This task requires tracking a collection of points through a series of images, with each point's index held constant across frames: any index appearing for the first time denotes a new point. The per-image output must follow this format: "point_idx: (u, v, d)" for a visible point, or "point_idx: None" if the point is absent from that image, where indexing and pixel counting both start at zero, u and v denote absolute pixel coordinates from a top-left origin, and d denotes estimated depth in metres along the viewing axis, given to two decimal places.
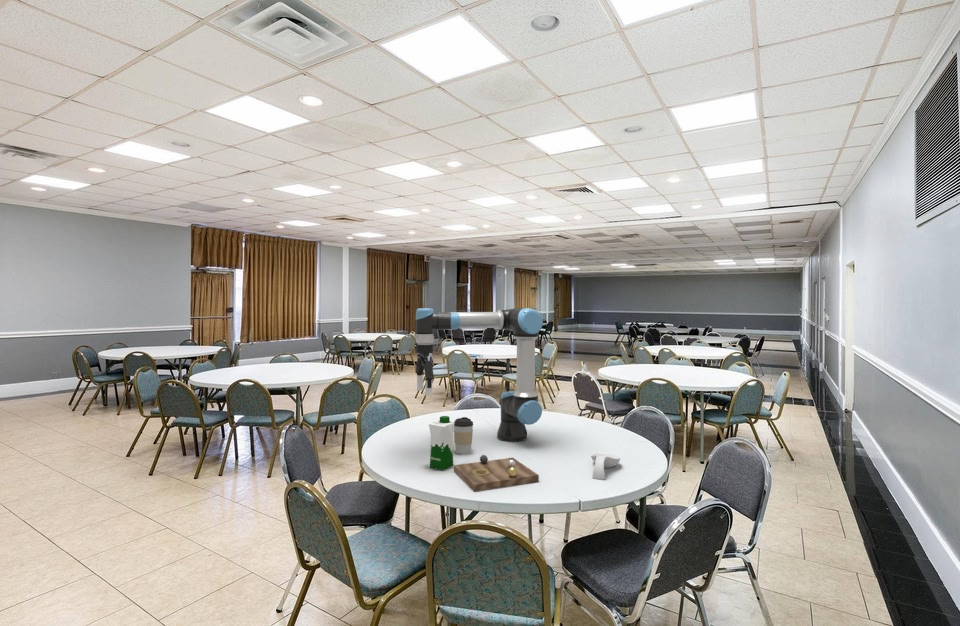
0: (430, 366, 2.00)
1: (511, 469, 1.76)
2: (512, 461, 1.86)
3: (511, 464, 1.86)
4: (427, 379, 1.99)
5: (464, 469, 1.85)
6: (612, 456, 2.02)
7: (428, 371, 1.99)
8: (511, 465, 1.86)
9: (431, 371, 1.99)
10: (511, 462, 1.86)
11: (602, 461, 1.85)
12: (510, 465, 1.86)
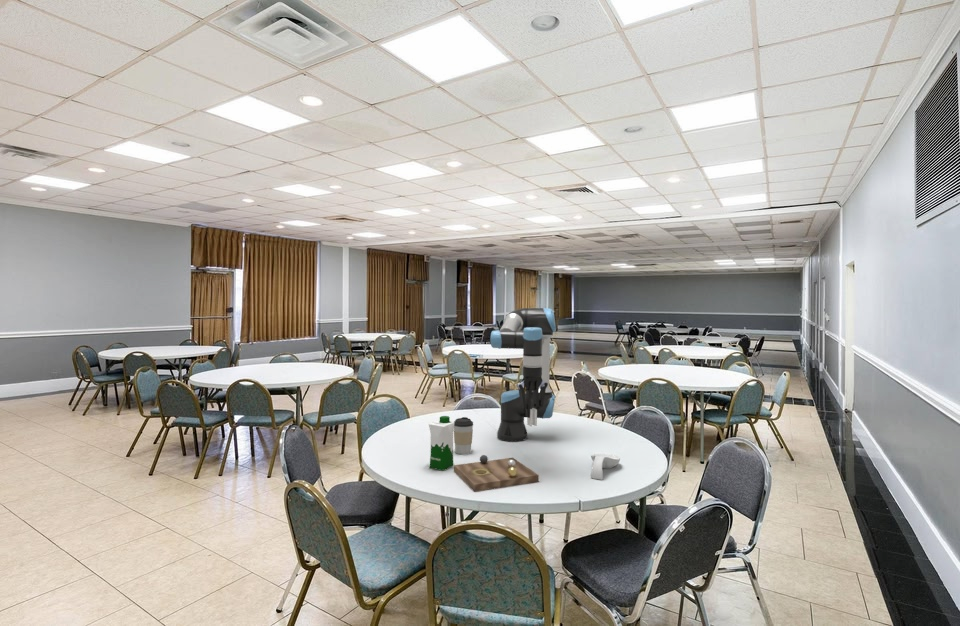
0: (521, 395, 1.88)
1: (511, 469, 1.76)
2: (512, 461, 1.86)
3: (511, 464, 1.86)
4: None
5: (464, 469, 1.85)
6: (612, 456, 2.01)
7: (520, 400, 1.89)
8: (511, 465, 1.86)
9: (522, 400, 1.88)
10: (511, 462, 1.86)
11: (600, 461, 1.84)
12: (510, 465, 1.86)
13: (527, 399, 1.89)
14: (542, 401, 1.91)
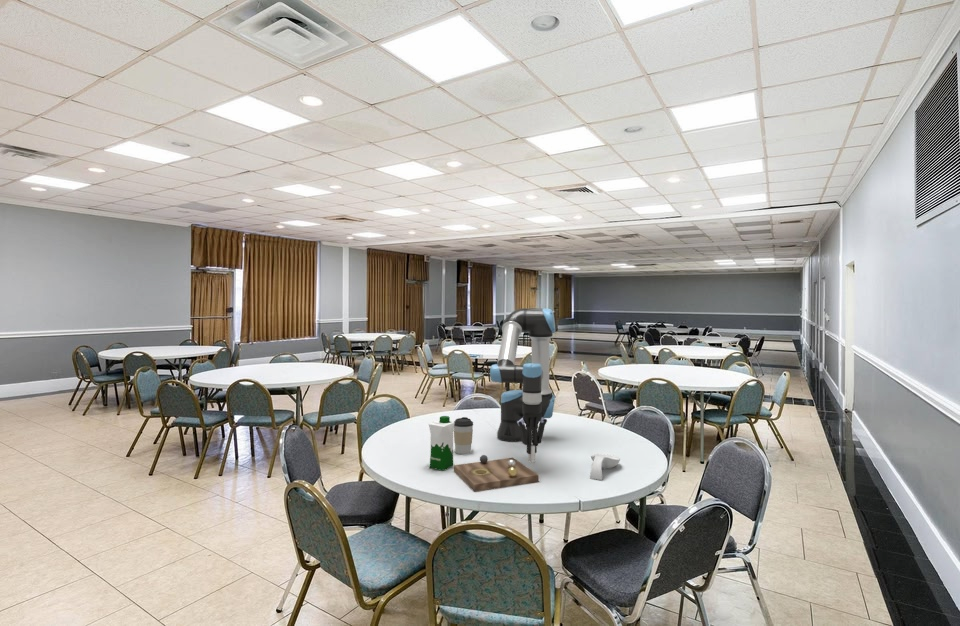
0: (521, 432, 1.88)
1: (511, 469, 1.76)
2: (512, 461, 1.86)
3: (511, 464, 1.86)
4: None
5: (464, 469, 1.85)
6: (612, 457, 2.01)
7: (521, 436, 1.90)
8: (511, 465, 1.86)
9: (522, 437, 1.88)
10: (511, 462, 1.86)
11: (600, 462, 1.84)
12: (510, 465, 1.86)
13: (527, 435, 1.90)
14: (540, 437, 1.91)
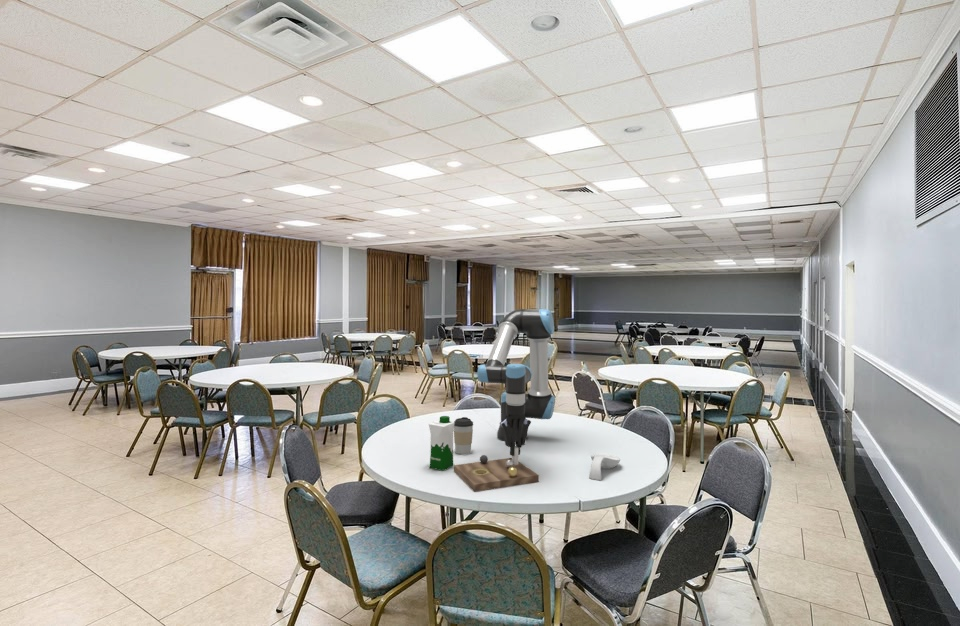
0: (504, 433, 1.85)
1: (511, 469, 1.76)
2: (509, 462, 1.86)
3: (509, 465, 1.86)
4: None
5: (464, 469, 1.85)
6: (613, 457, 2.00)
7: (504, 438, 1.87)
8: (509, 466, 1.86)
9: (506, 439, 1.86)
10: (508, 463, 1.86)
11: (599, 462, 1.84)
12: (509, 467, 1.86)
13: (511, 437, 1.87)
14: (524, 439, 1.88)
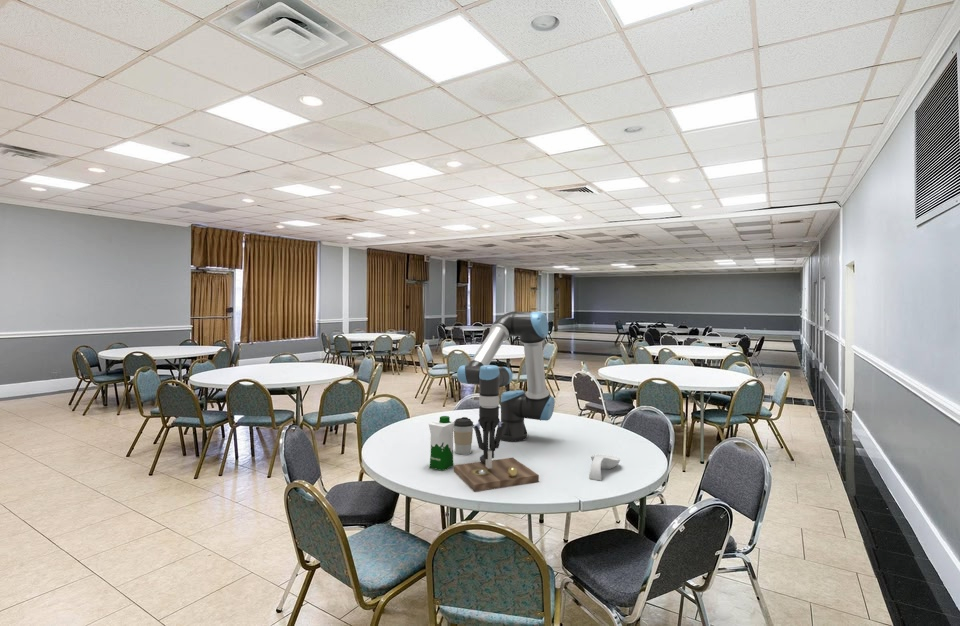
0: (477, 436, 1.81)
1: (511, 469, 1.76)
2: None
3: None
4: None
5: (464, 469, 1.85)
6: (613, 457, 2.00)
7: (477, 441, 1.82)
8: None
9: (479, 442, 1.81)
10: None
11: (599, 462, 1.84)
12: None
13: (484, 440, 1.82)
14: (498, 442, 1.84)
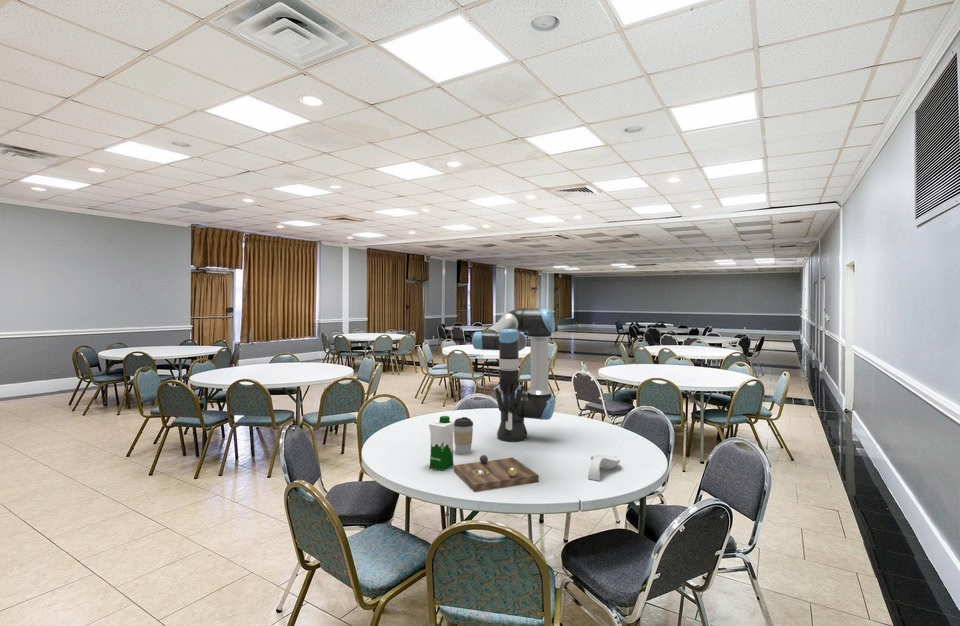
0: (498, 399, 1.84)
1: (511, 469, 1.76)
2: None
3: None
4: None
5: (464, 469, 1.85)
6: (613, 458, 2.00)
7: (498, 403, 1.86)
8: (483, 473, 1.82)
9: (499, 404, 1.85)
10: None
11: (598, 462, 1.83)
12: (483, 473, 1.82)
13: (504, 403, 1.86)
14: (518, 405, 1.87)
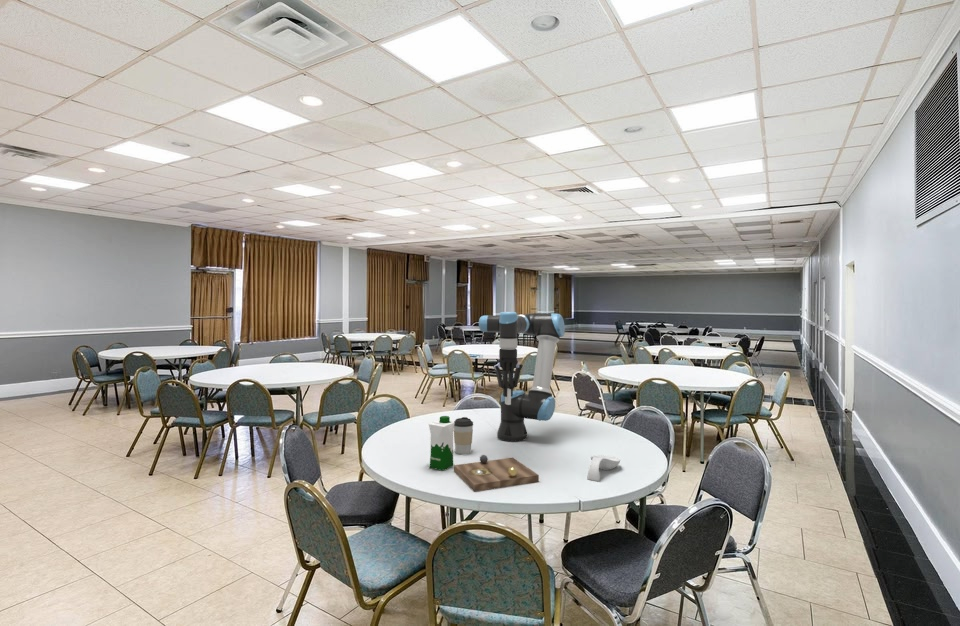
0: (498, 375, 1.99)
1: (511, 469, 1.76)
2: None
3: None
4: (503, 388, 2.02)
5: (464, 469, 1.85)
6: (613, 458, 1.99)
7: (498, 380, 2.01)
8: (481, 473, 1.81)
9: (499, 380, 2.00)
10: None
11: (597, 463, 1.83)
12: (482, 473, 1.81)
13: (504, 379, 2.01)
14: (516, 381, 2.02)
